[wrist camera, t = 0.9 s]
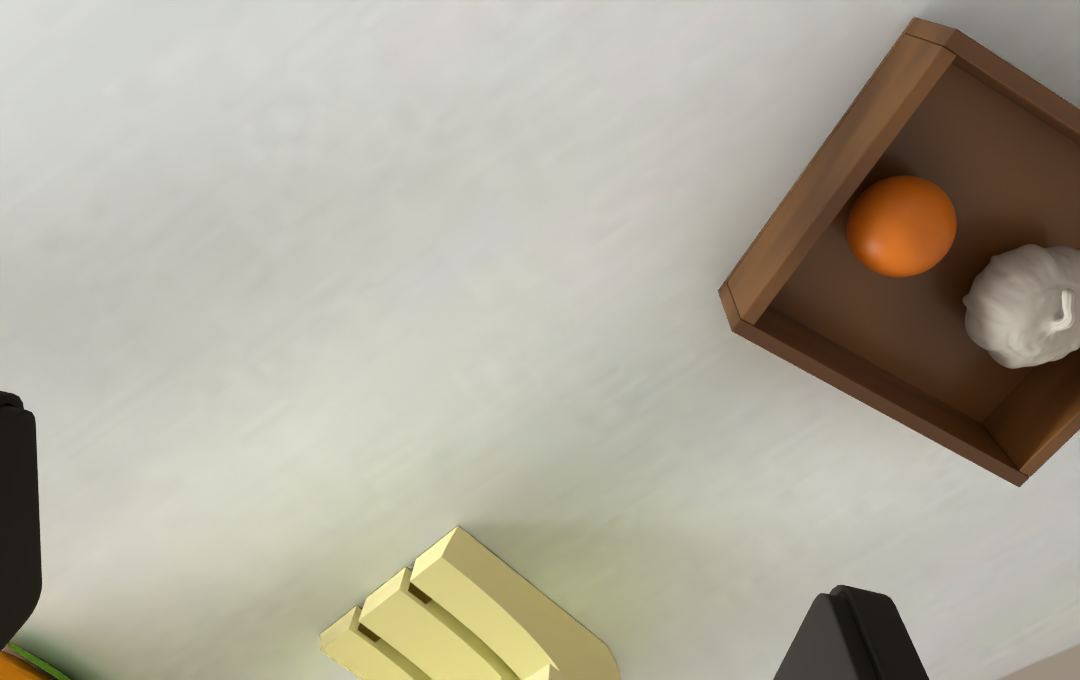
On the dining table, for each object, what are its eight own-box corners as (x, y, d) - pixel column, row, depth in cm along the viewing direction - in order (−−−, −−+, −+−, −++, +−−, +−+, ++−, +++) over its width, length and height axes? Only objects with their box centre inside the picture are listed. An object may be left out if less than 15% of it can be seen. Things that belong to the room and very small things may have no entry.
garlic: (997, 207, 37) (1054, 247, 33) (1098, 251, 38) (1168, 296, 33) (922, 317, 40) (965, 368, 35) (1018, 356, 41) (1072, 411, 36)
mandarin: (876, 146, 37) (911, 172, 33) (955, 193, 37) (997, 225, 33) (815, 228, 38) (840, 262, 34) (891, 272, 39) (924, 310, 35)
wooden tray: (914, 16, 34) (956, 28, 30) (1203, 205, 37) (1278, 238, 33) (717, 291, 40) (731, 331, 36) (979, 435, 43) (1019, 487, 39)
